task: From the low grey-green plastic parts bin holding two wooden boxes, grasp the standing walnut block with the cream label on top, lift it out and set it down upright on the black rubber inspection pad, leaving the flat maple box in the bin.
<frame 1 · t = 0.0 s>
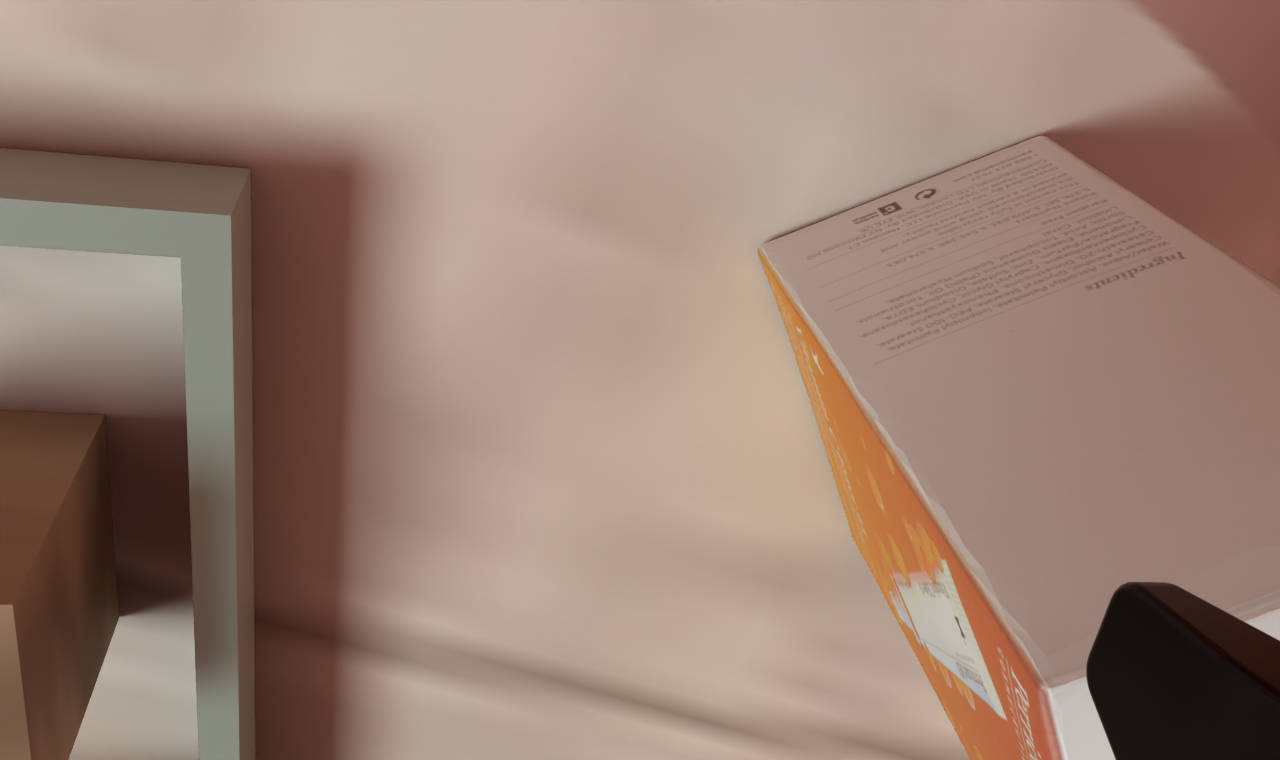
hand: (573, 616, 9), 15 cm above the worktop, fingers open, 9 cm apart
small box: (933, 345, 26), on the worktop
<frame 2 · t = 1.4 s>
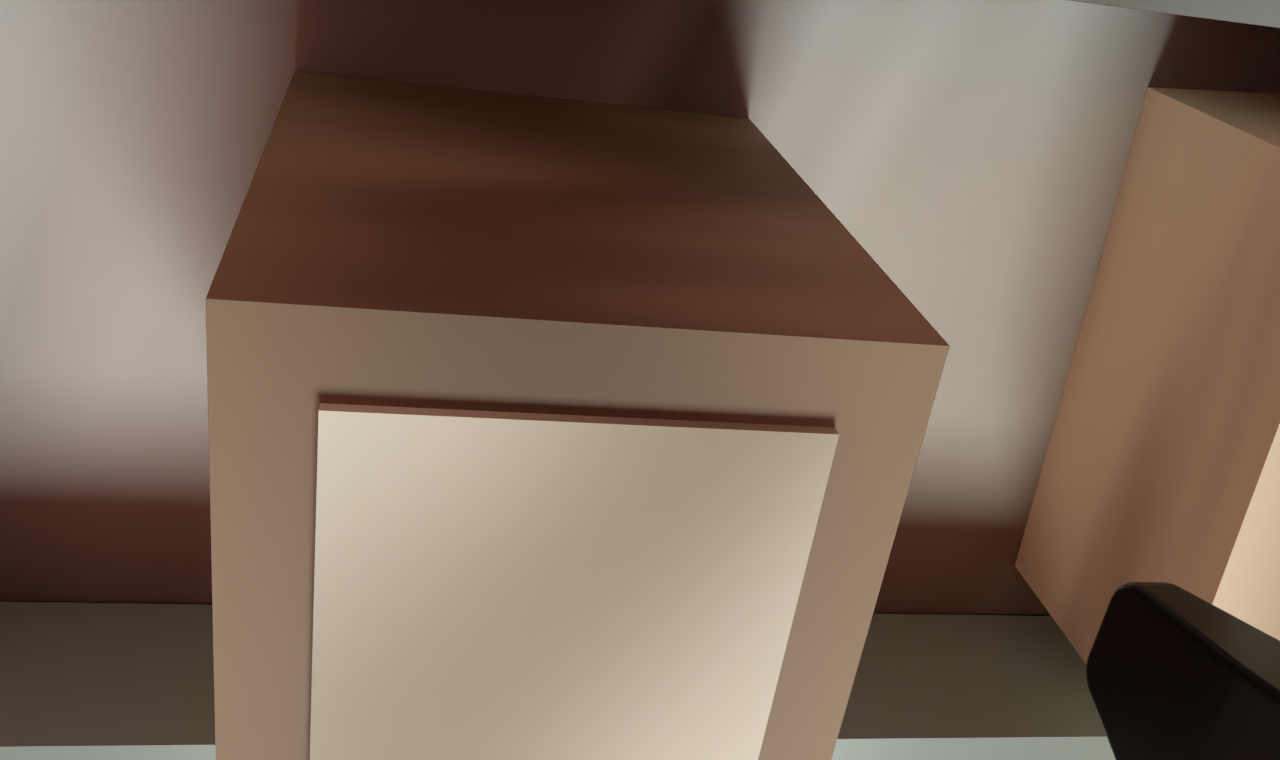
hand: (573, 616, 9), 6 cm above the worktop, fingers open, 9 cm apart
parts bin: (751, 321, 15), on the worktop
walnut block: (509, 302, 14), resting in parts bin
maple box: (1235, 345, 16), resting in parts bin
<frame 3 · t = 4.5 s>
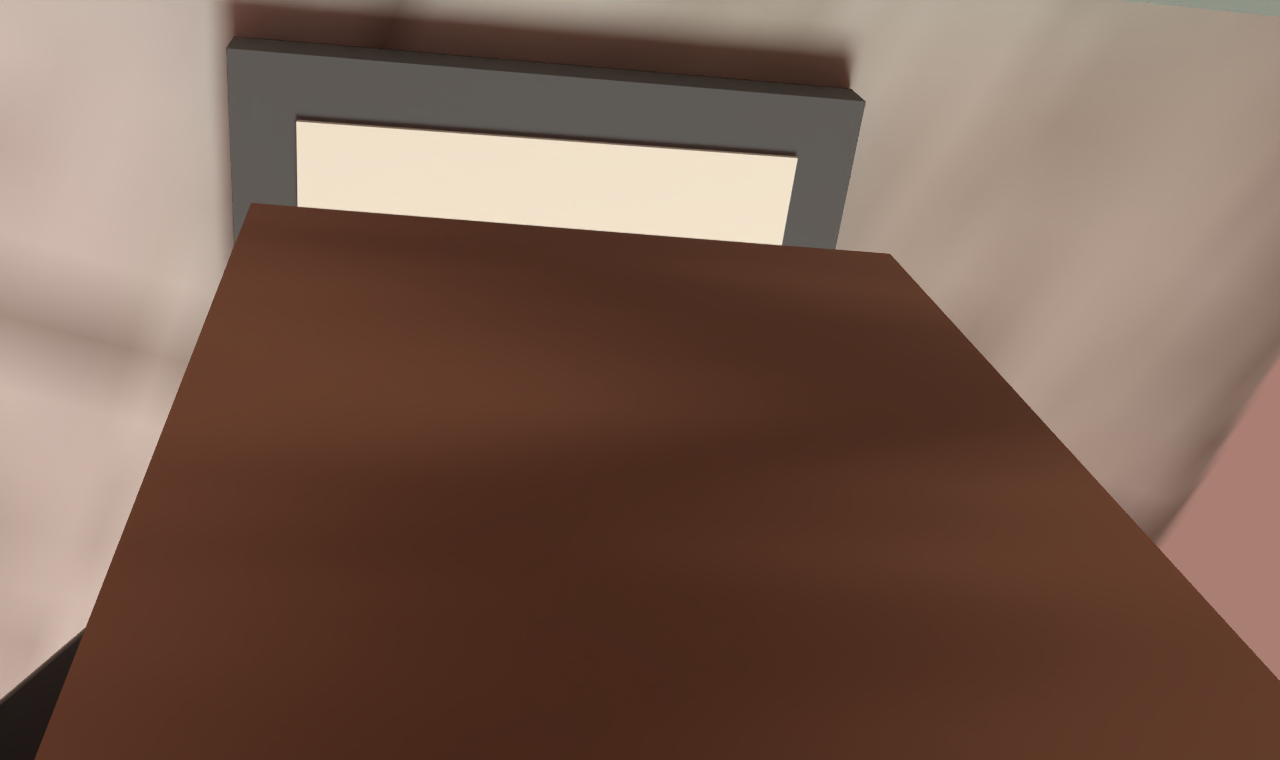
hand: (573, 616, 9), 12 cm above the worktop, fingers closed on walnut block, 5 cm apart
pad: (537, 290, 21), on the worktop
walnut block: (553, 500, 10), point 11 cm above the worktop, touching gripper
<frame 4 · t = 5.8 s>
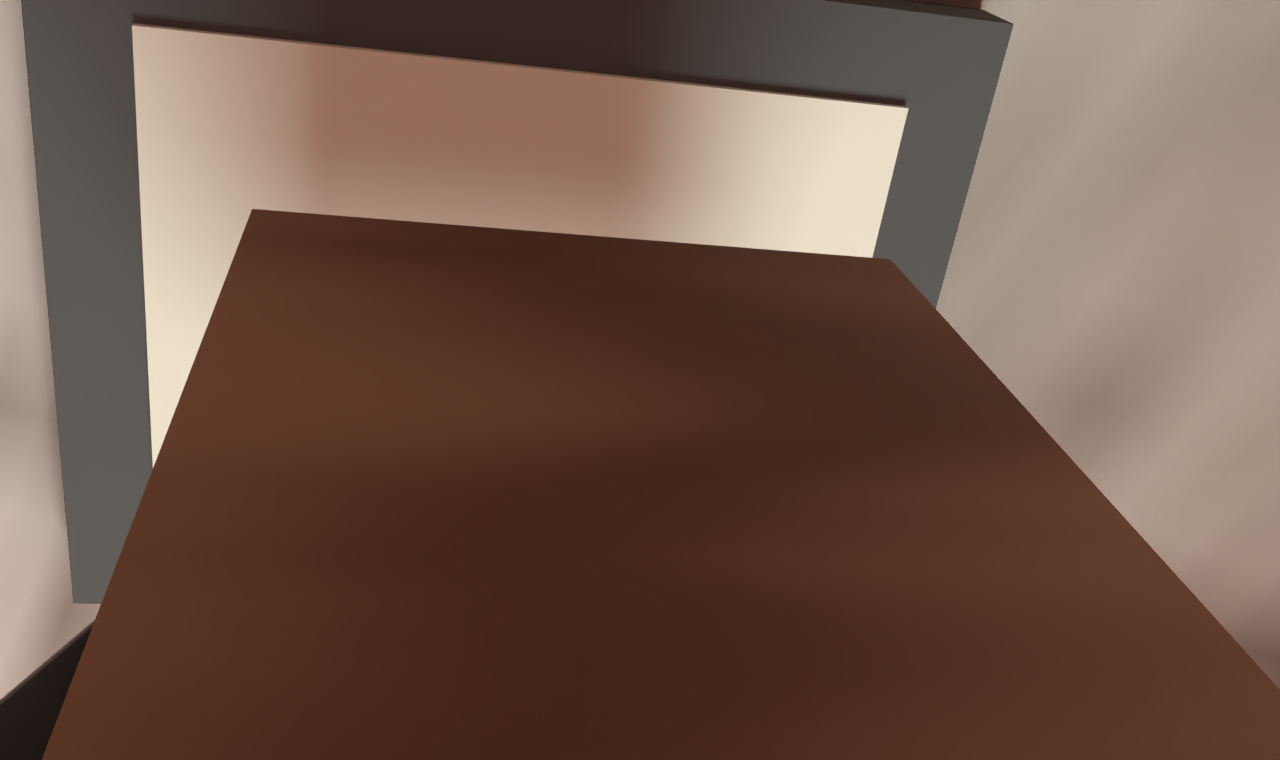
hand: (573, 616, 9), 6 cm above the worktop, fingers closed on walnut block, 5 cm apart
pad: (513, 301, 14), on the worktop
walnut block: (553, 505, 10), point 5 cm above the worktop, touching gripper
when the fingers open (3 cm above the worktop, at t = 6.7 s): walnut block stays where it is, resting on pad.
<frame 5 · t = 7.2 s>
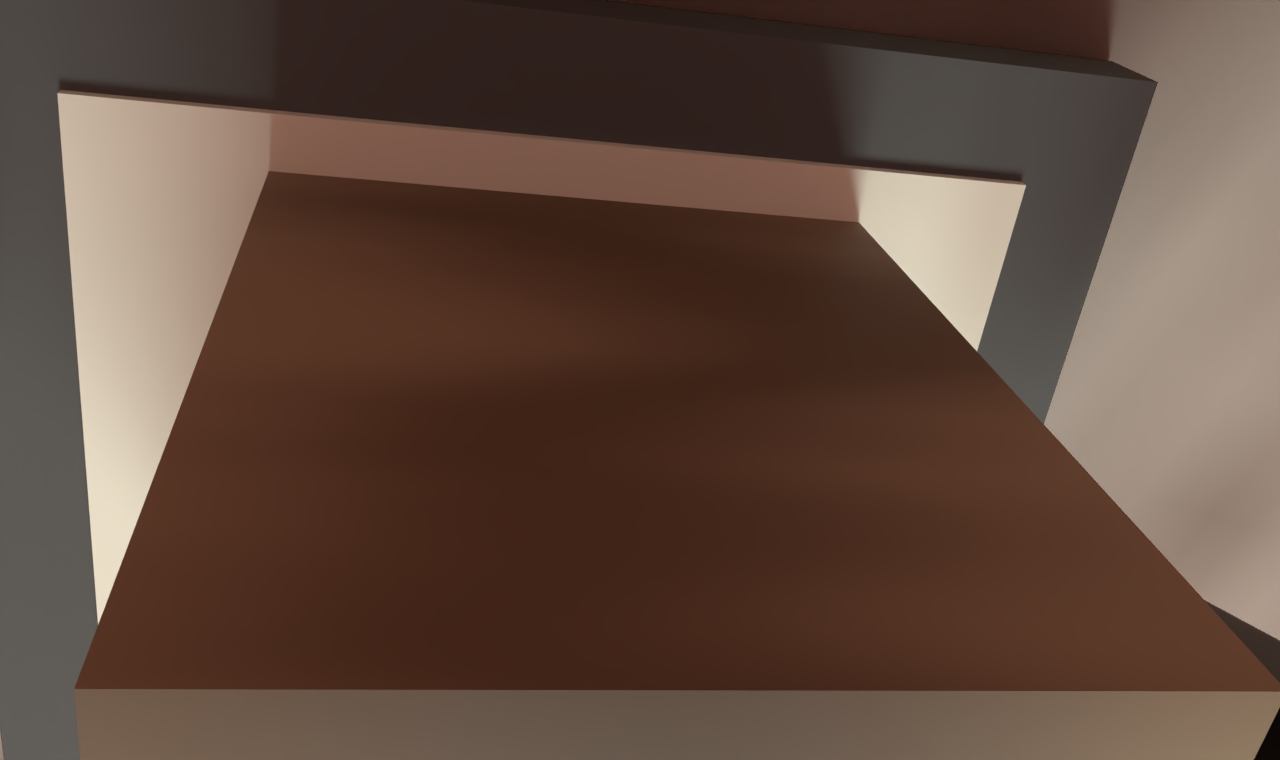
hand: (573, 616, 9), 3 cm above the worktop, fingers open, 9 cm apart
pad: (535, 409, 12), on the worktop
walnut block: (546, 453, 11), point 1 cm above the worktop, touching pad
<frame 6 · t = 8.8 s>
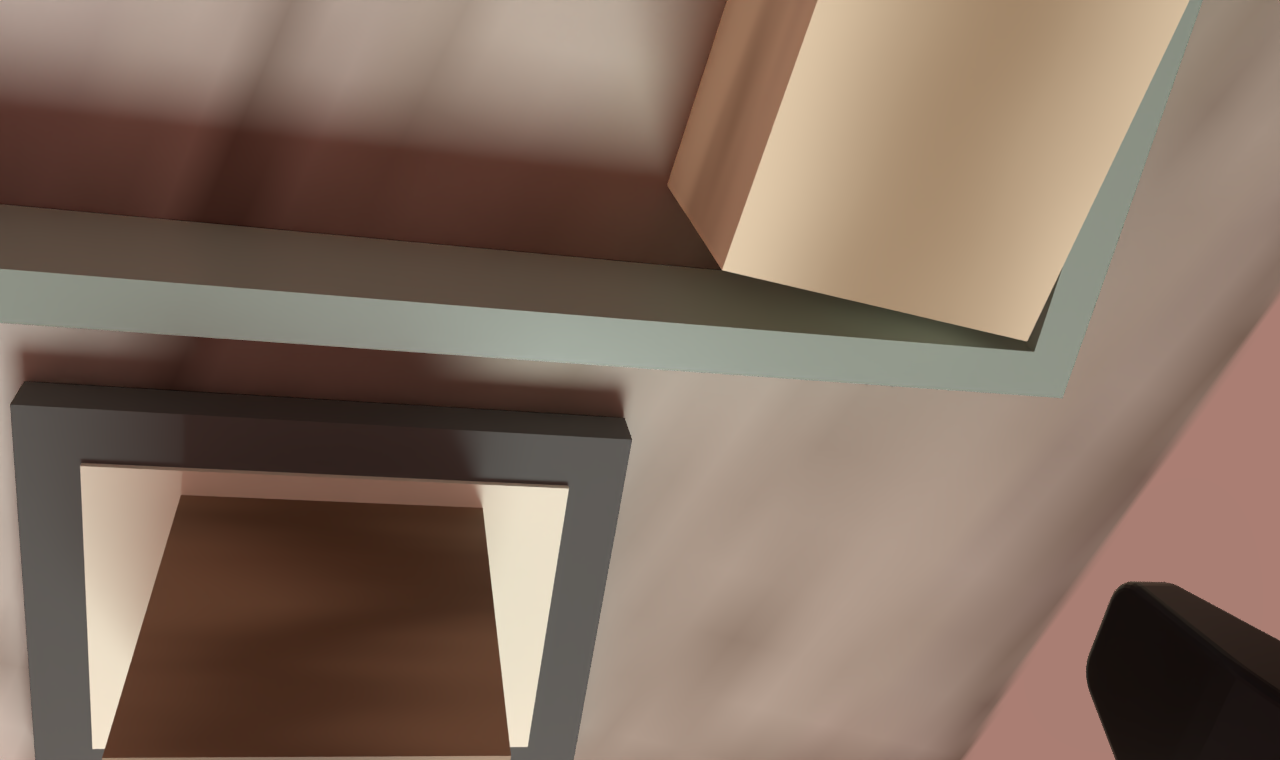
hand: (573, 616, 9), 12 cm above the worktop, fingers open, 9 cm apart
pad: (329, 590, 22), on the worktop
walnut block: (328, 619, 21), point 1 cm above the worktop, touching pad
maple box: (873, 16, 19), resting in parts bin
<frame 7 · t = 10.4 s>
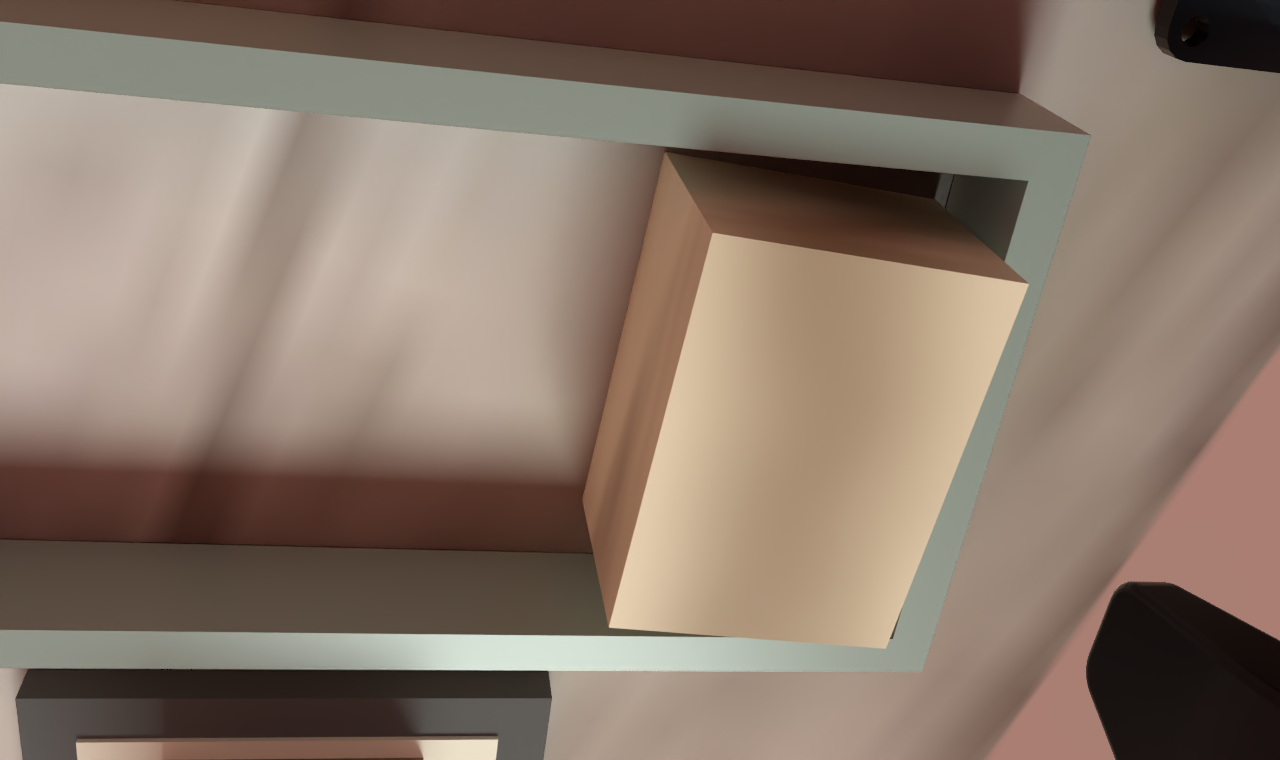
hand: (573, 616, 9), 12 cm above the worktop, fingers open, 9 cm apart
parts bin: (364, 334, 21), on the worktop
maple box: (748, 351, 22), resting in parts bin
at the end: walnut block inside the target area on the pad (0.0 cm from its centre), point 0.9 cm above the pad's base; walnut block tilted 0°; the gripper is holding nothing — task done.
